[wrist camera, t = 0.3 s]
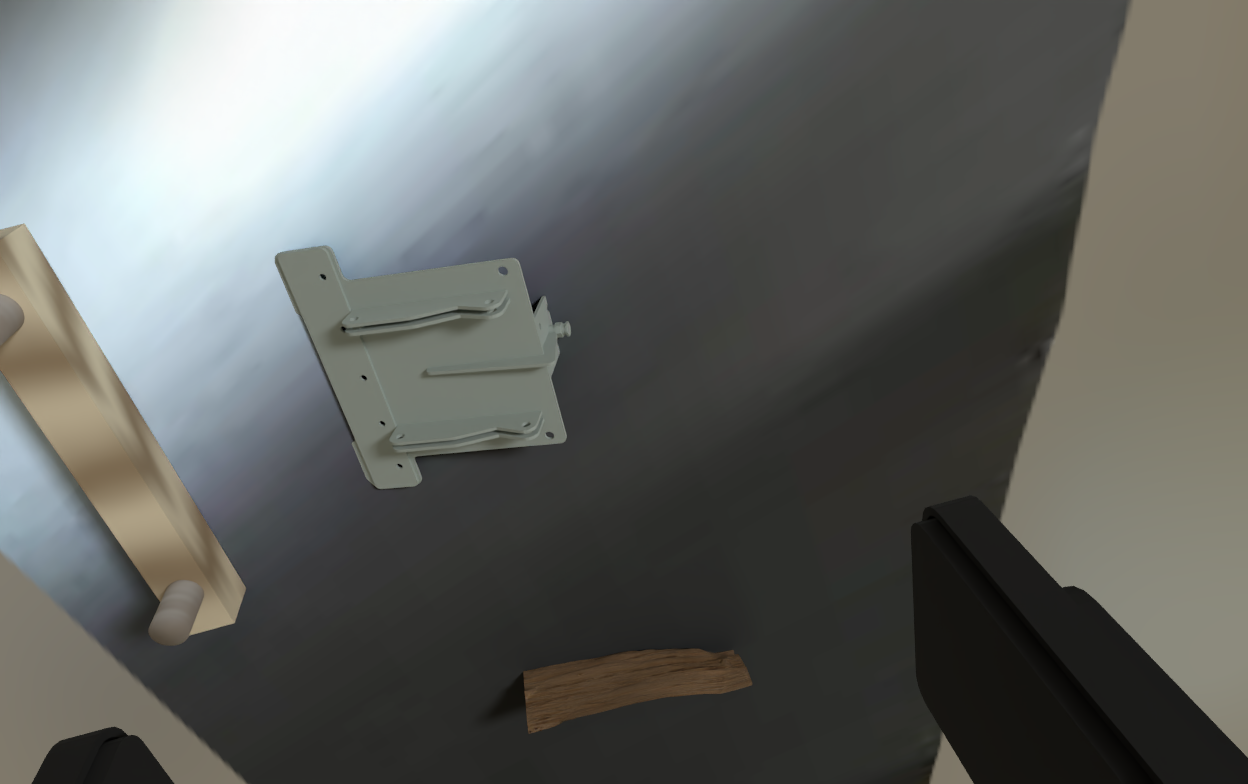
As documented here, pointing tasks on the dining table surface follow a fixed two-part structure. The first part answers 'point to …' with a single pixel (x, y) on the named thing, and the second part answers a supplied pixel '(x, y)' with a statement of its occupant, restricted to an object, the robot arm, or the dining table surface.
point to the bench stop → (109, 446)
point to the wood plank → (626, 682)
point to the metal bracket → (430, 358)
